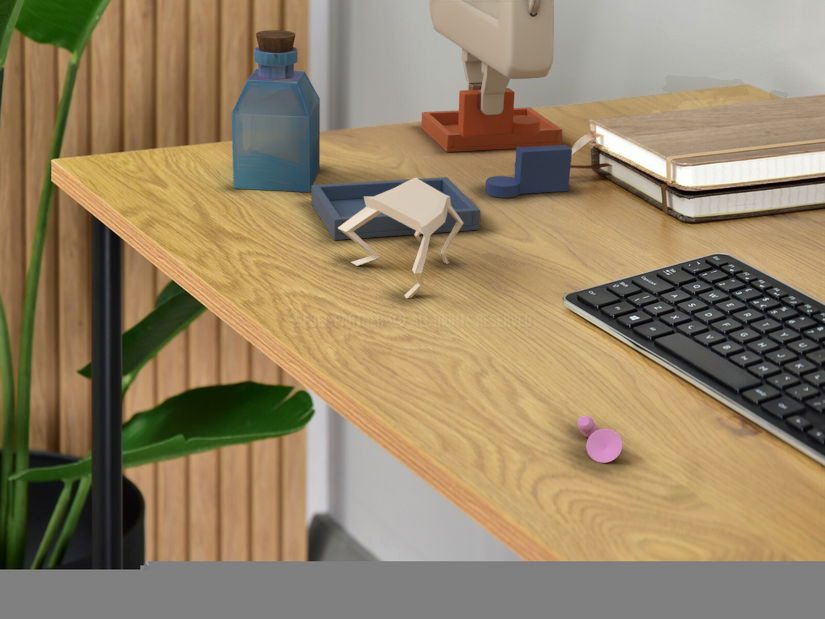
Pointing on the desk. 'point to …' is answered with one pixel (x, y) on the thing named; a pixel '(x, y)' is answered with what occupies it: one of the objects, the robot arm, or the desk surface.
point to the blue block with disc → (534, 172)
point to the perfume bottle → (276, 121)
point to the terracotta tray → (446, 135)
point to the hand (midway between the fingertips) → (484, 108)
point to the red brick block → (493, 118)
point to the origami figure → (407, 219)
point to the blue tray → (349, 200)
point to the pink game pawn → (600, 441)
